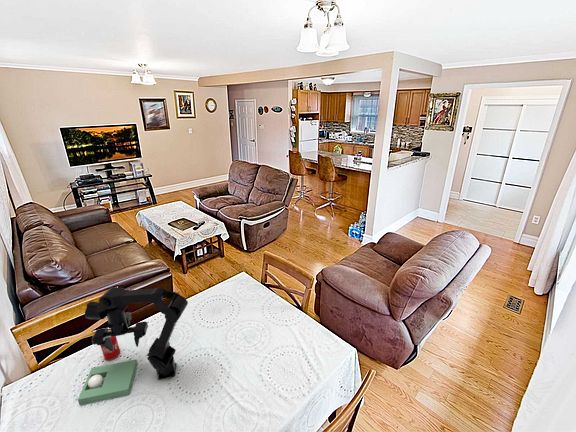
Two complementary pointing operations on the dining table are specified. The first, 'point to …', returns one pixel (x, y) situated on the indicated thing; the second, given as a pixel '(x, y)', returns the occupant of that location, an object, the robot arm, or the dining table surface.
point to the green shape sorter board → (110, 382)
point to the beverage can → (111, 354)
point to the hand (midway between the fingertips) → (125, 348)
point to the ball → (95, 381)
